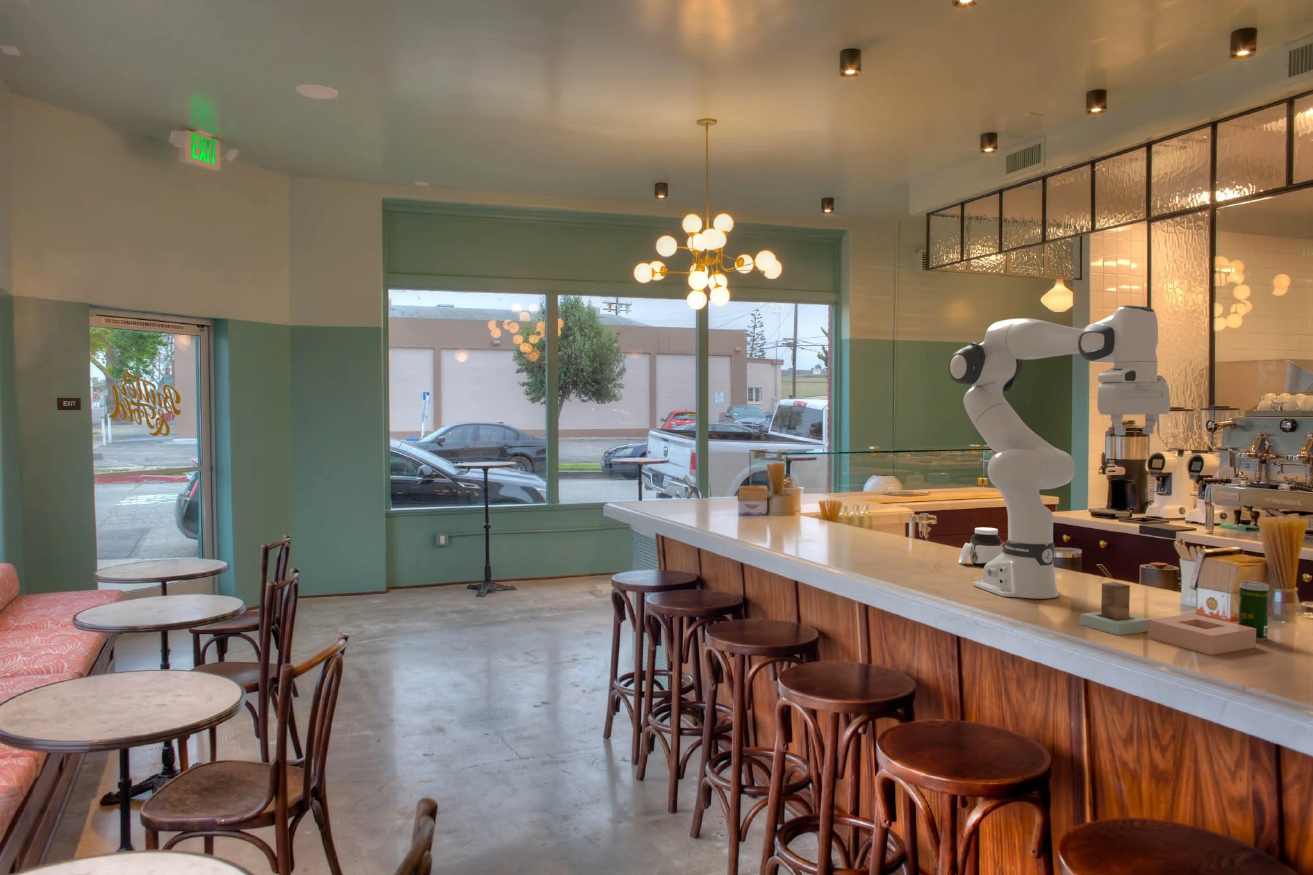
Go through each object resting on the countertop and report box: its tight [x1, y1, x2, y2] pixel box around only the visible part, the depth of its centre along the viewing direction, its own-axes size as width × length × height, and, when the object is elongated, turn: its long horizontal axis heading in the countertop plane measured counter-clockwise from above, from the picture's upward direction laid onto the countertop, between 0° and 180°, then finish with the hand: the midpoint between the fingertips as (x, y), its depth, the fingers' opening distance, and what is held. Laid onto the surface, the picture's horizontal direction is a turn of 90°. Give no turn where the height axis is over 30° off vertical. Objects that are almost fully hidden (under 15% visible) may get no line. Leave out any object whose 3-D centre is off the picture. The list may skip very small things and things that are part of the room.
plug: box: [1100, 581, 1131, 621], centre depth 196 cm, size 4×4×10 cm
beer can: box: [1237, 580, 1270, 642], centre depth 187 cm, size 5×5×12 cm
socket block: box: [1147, 613, 1257, 656], centre depth 184 cm, size 14×14×4 cm
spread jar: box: [958, 526, 1004, 568], centre depth 272 cm, size 12×11×12 cm
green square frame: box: [1079, 611, 1151, 636], centre depth 196 cm, size 10×10×2 cm
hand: (1134, 434), depth 200 cm, fingers open, 8 cm apart
